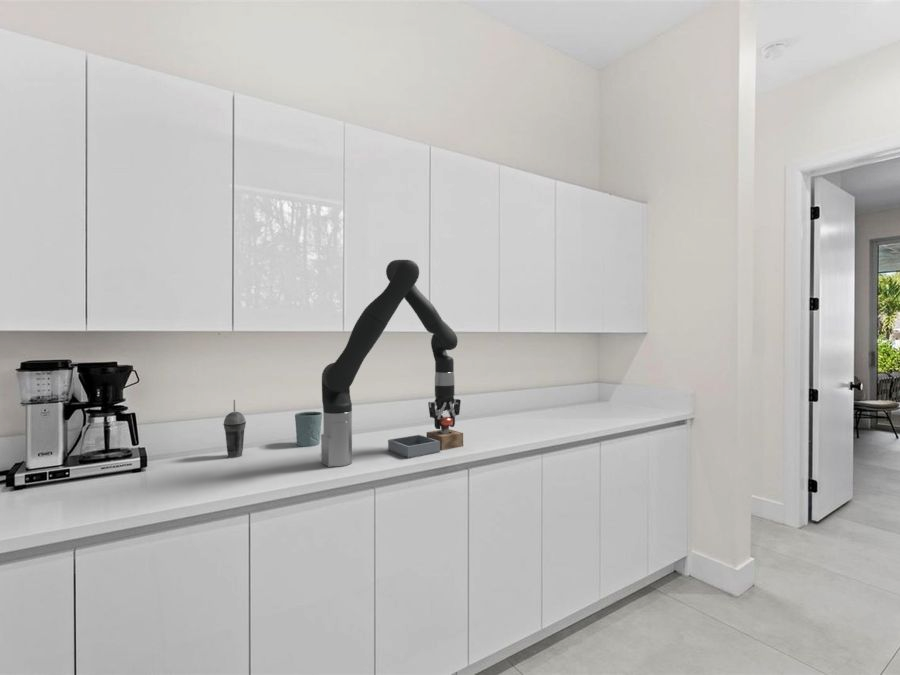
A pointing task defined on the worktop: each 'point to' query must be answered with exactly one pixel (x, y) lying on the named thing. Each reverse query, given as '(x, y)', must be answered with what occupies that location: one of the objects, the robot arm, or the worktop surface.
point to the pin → (445, 424)
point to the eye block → (447, 439)
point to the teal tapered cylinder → (308, 428)
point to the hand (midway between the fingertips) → (444, 427)
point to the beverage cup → (234, 433)
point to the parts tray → (413, 446)
